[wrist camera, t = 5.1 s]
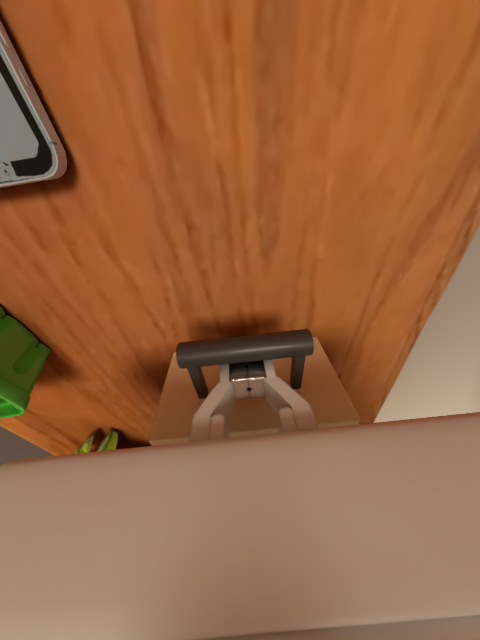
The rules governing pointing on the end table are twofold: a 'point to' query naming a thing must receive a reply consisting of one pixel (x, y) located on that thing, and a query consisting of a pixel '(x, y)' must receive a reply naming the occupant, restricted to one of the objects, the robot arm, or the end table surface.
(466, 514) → the robot arm
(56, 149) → the smartphone
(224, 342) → the drawer
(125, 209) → the end table surface
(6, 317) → the fruit basket
